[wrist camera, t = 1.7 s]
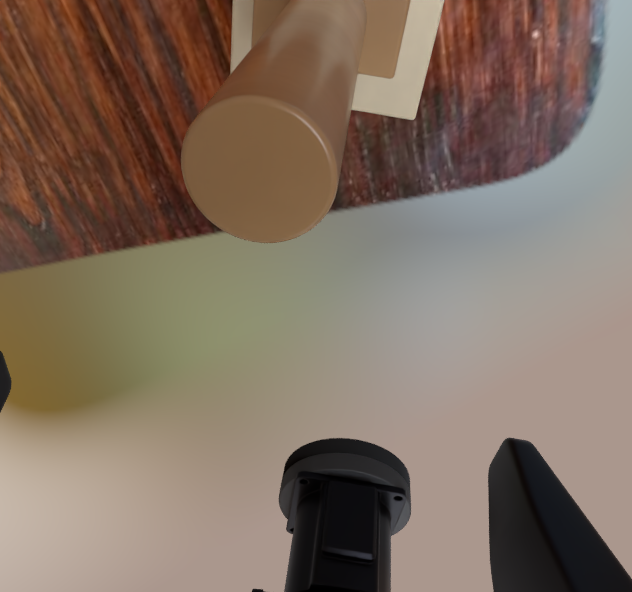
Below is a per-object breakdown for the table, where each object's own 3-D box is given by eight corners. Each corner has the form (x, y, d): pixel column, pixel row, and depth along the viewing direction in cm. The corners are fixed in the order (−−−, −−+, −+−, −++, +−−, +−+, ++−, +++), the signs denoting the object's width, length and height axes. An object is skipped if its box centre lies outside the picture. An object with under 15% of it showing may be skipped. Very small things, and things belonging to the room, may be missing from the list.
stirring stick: (393, 56, 13) (393, 284, 6) (266, 35, 13) (109, 235, 6) (412, -37, 12) (444, 105, 5) (272, -60, 12) (85, 43, 5)
